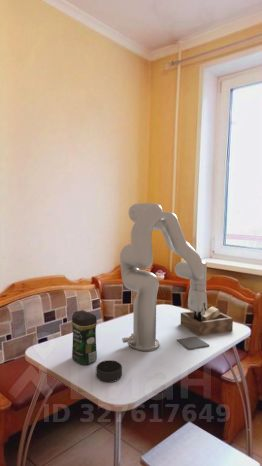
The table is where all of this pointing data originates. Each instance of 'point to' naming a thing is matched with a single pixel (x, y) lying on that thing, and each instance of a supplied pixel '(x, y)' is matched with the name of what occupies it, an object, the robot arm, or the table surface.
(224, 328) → the block
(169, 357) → the table surface
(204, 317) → the tan rectangular block
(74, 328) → the coffee jar
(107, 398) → the table surface
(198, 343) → the rubber mat
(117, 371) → the black round bowl
